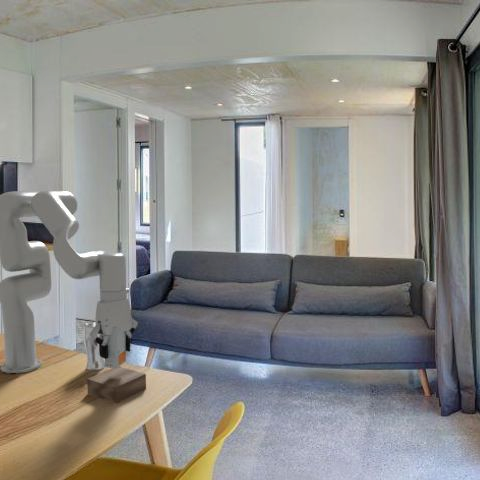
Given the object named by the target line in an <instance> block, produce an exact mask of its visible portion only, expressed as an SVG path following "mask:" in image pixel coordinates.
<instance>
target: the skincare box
mask: <svg viewBox="0 0 480 480" xmlns="http://www.w3.org/2000/svg"><path fill="white" fill-rule="evenodd" d="M106 345H108V358H107V359H105V358H104V363H105V367H104V368H109V369H112V368H118V367H121V366H122V365H124V364H125V363H126V362H127V351H126V333H125V332H121V329H120V327H117V328H113V334H112V335H111V336H109V337H108V340H107V343H106Z"/></svg>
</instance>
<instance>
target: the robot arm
mask: <svg viewBox="0 0 480 480" xmlns="http://www.w3.org/2000/svg"><path fill="white" fill-rule="evenodd" d="M77 211H78V201H77V198H76V197H75V195H74V194H73V193H71V192H69V191H67V190H37V191H36V190H32V191H31V190H19V191H18V190H17V191H16V190H15V191H7V192H3V193H1V194H0V263H1V267H2V269H4V271H6V272H10V273H11V272H12V273H13V272H23V271H28V270H29V273H28V272H26V273H21V274H14V275H10V276H8V277H5V278H4V279H2V280H1V281H0V307H1V313H2V324H3V339H4V340H3V342H4V358H5V360H4V361H5V362H4V363H3V364H1V366H0V371H1V372H2V373H4V372H5V374H10V373H16V374H23V373H28V372H32V371H35V370H37V369H39V367H41V365H42V360H41V359H39V358H37V347H36V329H35V327H36V326H35V317H34V312H33V310H32V309H31V308H30V306H29V305H28V303H29V302H32V301H36V300H39V299H43V298H45V297H47V296H48V295H50V292H51V291H52V290H51V289H52V270H51V269H52V267H51V257H50V256H51V255H50V252H49V249H48V247H47V246H46V244H45V243H43V242H42V241H39V240H31V241H29V239H28V230H27V227H26V226H25V224H24V222H23V221H22V219H20V218H32V217H33V218H34V217H35V218H36V217H37V218H38V219H39V220H40V222H41V223H42V224H43V225H44V226H45V228H46V229H47V230H48V232H49V233H50V235H51V236H52V237H53V243H52V249H53V250H52V251H53V255H54V258H55V261H56V262H57V264H58V265H59V266H60V267H61V269H62V270H63V271H64V273H65V274H66V275H67V276H68V277H70V278H72V279H74V280H83V279H84V280H85V279H87V278H92V277H98V276H99V297H100V298H99V300H98V301H97V304H96V309H95V321H94V322H95V328H94V329H93V330H92V331H91V332H90V334H89V335H90V337H91V338H92V339H93V340H94V341H95V342H97V344H99V354H100V357H102V358H104V360H105V359H107V358H108V345H106V343H107V340H108V337H109V336H111V335H112V334H113V328H117V327H120V329H121V332H125V333H126V352H128V353H129V352H131V338H132V337H133V334H134V332H135V331H136V329H137V326H138V324H139V323H138V322H139V321H137V320H135V319H134V318H133V317H132V310H131V305H130V301H129V300H130V299H129V298H128V294H130V289H129V288H128V287H127V264H126V263H127V261H126V256H125V254H123V253H120V252H109V251H107V250H106V251H105V250H101V249H100V250H97V249H96V250H92V251H84V252H77V251H76V250H75V249H74V248H73V246H72V245H71V243H70V242H69V240H70V239H72V237H74V236H75V235H76V234H77V232H78V230H79V229H80V223H79V221H78V219H76V218H75V216H74V214H75V213H76V212H77ZM97 334H100V335H99V337H98V336H97ZM103 337H104V338H103Z"/></svg>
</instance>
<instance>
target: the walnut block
mask: <svg viewBox="0 0 480 480" xmlns="http://www.w3.org/2000/svg"><path fill="white" fill-rule="evenodd" d="M146 377H147V374H146V373H144V372H141V371H136V370H133V369H129V368H125V367H121V366H119V367H118V368H109V369H108V370H105V371H102V372H101V373H98V374H96V375H93V376H90V377H88V378H87V379H86V383H87V384H86V385H87V395H89V396H93V397H96V398H99V399H101V400H105V401H108V402H110V403H113V404H118V403H120V402H123V401H124V400H126V399H128V398H130V396H131V397H133V396H134V394H135V395H136V393H137V394H138V392H139V393H141V392H143V391H145V390H147V378H146ZM144 389H145V390H144ZM142 390H143V391H142ZM140 391H141V392H140ZM132 395H133V396H132Z"/></svg>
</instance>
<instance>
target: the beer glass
mask: <svg viewBox="0 0 480 480" xmlns="http://www.w3.org/2000/svg"><path fill="white" fill-rule="evenodd" d="M94 328H95V321H92V322H87V323H85V324H84V325H83V342H84V348H85V352H86V358H87V359H86V370H88V371H92V372H93V371H101V370H103V369H105V368H106V367H105V358H102V357H100V354H99V344H97V342H95V341H94V340H93V339H92V338H91V337H90V335H89V334H90V332H91V331H92V330H93V329H94ZM99 335H100V334H97V336H98V337H99ZM103 338H104V337H103Z"/></svg>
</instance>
